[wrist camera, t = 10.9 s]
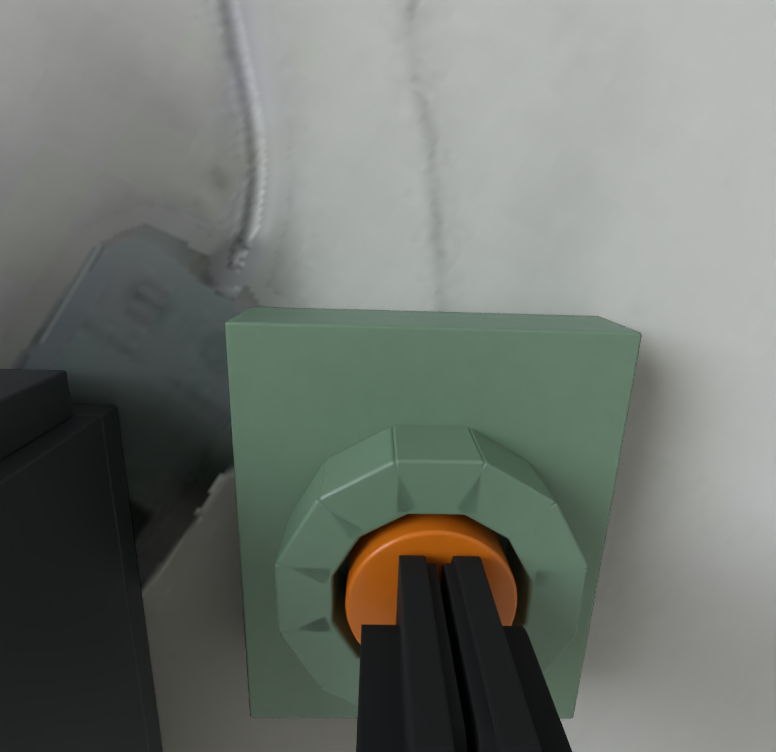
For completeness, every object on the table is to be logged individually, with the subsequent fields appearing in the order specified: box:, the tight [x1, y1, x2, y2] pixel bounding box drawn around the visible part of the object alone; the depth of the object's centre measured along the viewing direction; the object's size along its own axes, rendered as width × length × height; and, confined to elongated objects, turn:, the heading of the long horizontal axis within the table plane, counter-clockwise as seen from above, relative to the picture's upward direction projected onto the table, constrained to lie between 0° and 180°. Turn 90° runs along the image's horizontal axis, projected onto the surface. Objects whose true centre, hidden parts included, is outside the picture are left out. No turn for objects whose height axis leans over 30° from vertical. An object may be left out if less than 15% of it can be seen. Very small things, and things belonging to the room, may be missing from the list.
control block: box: [225, 307, 641, 718], centre depth 12 cm, size 11×9×4 cm
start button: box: [345, 514, 517, 645], centre depth 11 cm, size 4×4×2 cm
